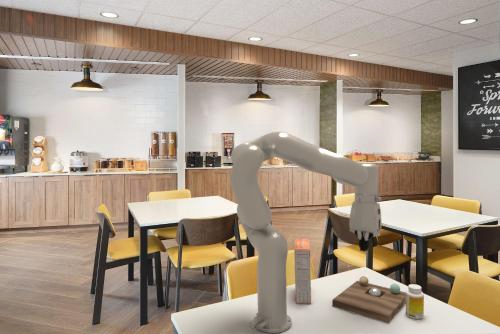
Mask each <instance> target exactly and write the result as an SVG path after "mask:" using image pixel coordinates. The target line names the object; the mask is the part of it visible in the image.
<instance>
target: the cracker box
mask: <svg viewBox="0 0 500 334" xmlns="http://www.w3.org/2000/svg"><path fill="white" fill-rule="evenodd" d="M293 255H294V258H293V259H294V284H295V285H294V289H295V291H294V292H295V293H294V294H295V304H299V305H301V304H306V305H311V304H312V289H311V288H312V287H311V285H312V283H311V247H310V239H309V238H295V239H294V254H293Z"/></svg>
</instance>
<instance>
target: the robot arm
mask: <svg viewBox="0 0 500 334" xmlns="http://www.w3.org/2000/svg"><path fill="white" fill-rule="evenodd" d="M272 158H278V159H279V160H283V161H285V162H288V163H290V164H292V165H295V166H297V167H299V168H301V169H303V170H306V171H309V172H311V173H316V174H319V175H321V174H322V175H325V176H328V177H331V178H332V179H333V180H334V181H335V182H336V183H338V184H339V185H340V184H341V185H346V186H351V187H354V200H353V201H352V203H351V207H350V215H349V223H348V224H349V232H351V233H353V234H355V236H357V239H358V240H359V241H358V247H359V251H361V252H364V253H365V252H367V251H368V250H369V248H370V240H371V239H372V238H373V237H380V236H381V231H382V212H381V211H382V210H381V204H380V202H381V201H382V197H381V196H379V194H378V187H379V185H378V184H379V166H378V165H377V164H376V163H369V162H361V163H359V162H357V161H355V160H353V159H351V158H349V157H346V156H343V155H341V154H339V153H335V152H334V151H333V152H332V151H330V150H328V149H325V148H324V147H320V146H317V145H315V144H313V143H311V142H309V141H306V140H304V139H301V138H299V137H297V136H296V135H292V134H291V133H288V132H284V131H273V132H269V133H266V134H264V135H261V136H259V137H257V138H254V139H251V140H248V141H245V142H243V143H240V144H238V145H237V146H235V147H234V148H233V150H232V152H231V155H230V159H231V163H232V166H231V171H230V175H229V176H230V177H229V183H230V188H231V191H232V193H233V195H234V198H235V200H236V203H237V207H236V215H237V217H238V220H239V223H240V224H241V226H242V228H243V230H244V232H245V235H246V237H247V238H248V241H249V243H250V244H251V246H252V247H253V248H254V249H255V250H256V251H257V253H258V255H257V257H258V259H257V263H256V264H257V266H256V283H257V285H256V286H257V287H256V288H257V289H256V290H257V291H256V292H257V313H256V315H255V316H254V318H253V319H252V320H251V321H250V322H249V323H248V325H249V327H250V328H251V329H254V328H256V329H257V330H258V331H261V332H262V333H263V332H264V333H267V334H278V333H282V332H285V331H287V330H289V329H290V328H291V327H292V324H293V323H292V322H293V321H292V318H291V317H290V316H289V315H288V310H287V308H288V306H287V260H288V254H289V243H288V240H287V238H286V237H285V236H284V233H282V232H281V231H280V230H278V229H276V228H275V227H274V226H273V225H272V223H271V222H272V218H273V215H272V211H271V208H270V205H269V204H268V202H267V200H266V198H265V195H264V194H263V191H262V189H261V187H260V184H259V180H258V175H259V171H260V169H261V168H262V166H263V163H264V162H265V161H268V160H270V159H272ZM378 202H379V203H378Z"/></svg>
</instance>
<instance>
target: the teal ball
mask: <svg viewBox="0 0 500 334" xmlns="http://www.w3.org/2000/svg"><path fill="white" fill-rule="evenodd" d="M389 288H390V290H391V291H392V292H393V293H399V292H400V291H401V286H400V285H399V284H398V283H392V284H390V287H389Z"/></svg>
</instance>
